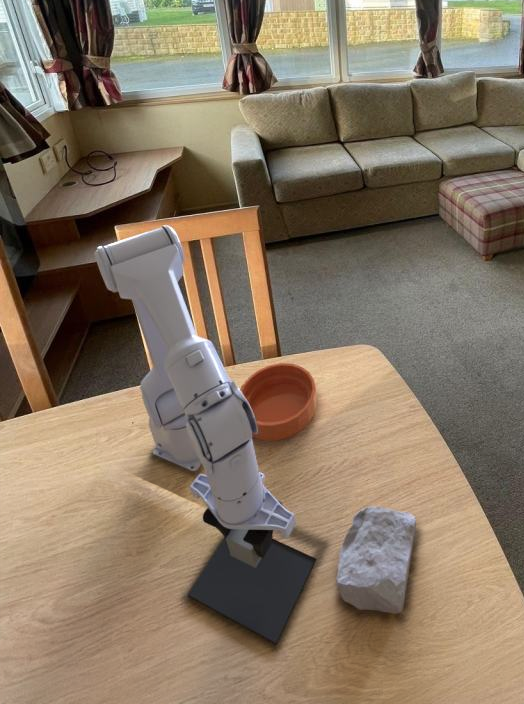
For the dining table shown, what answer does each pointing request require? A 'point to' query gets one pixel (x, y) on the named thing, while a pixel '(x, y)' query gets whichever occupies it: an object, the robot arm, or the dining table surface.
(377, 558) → the stone block
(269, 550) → the mat
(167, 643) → the dining table surface
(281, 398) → the bowl
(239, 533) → the block
